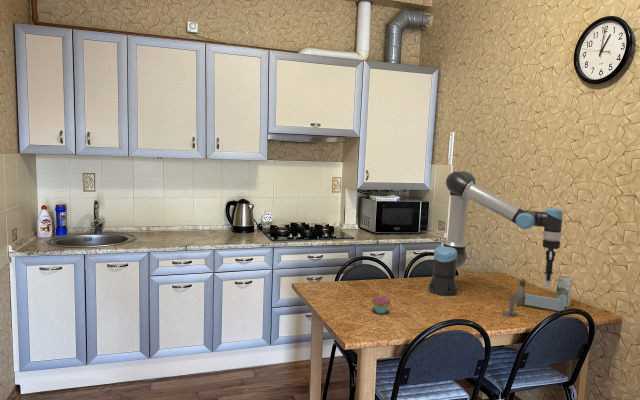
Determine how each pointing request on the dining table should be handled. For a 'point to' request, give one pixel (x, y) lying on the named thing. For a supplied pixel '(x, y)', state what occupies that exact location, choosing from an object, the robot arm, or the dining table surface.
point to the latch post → (511, 310)
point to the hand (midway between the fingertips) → (547, 286)
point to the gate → (540, 300)
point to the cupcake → (381, 303)
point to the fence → (522, 283)
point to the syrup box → (564, 289)
